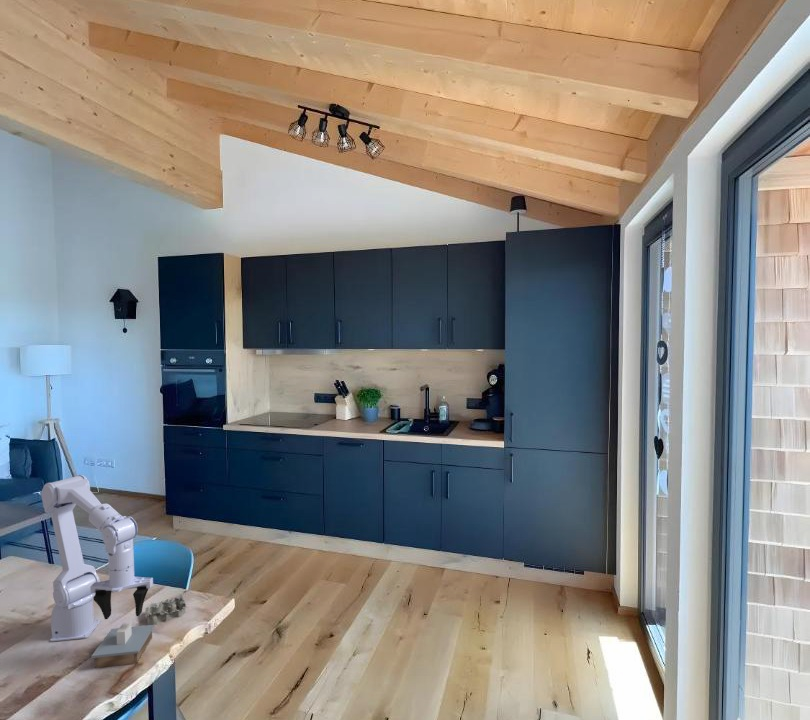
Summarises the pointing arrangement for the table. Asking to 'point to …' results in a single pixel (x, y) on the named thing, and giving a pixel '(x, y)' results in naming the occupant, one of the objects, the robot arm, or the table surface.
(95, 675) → the table surface
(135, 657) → the box
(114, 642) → the lid
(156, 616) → the egg carton
